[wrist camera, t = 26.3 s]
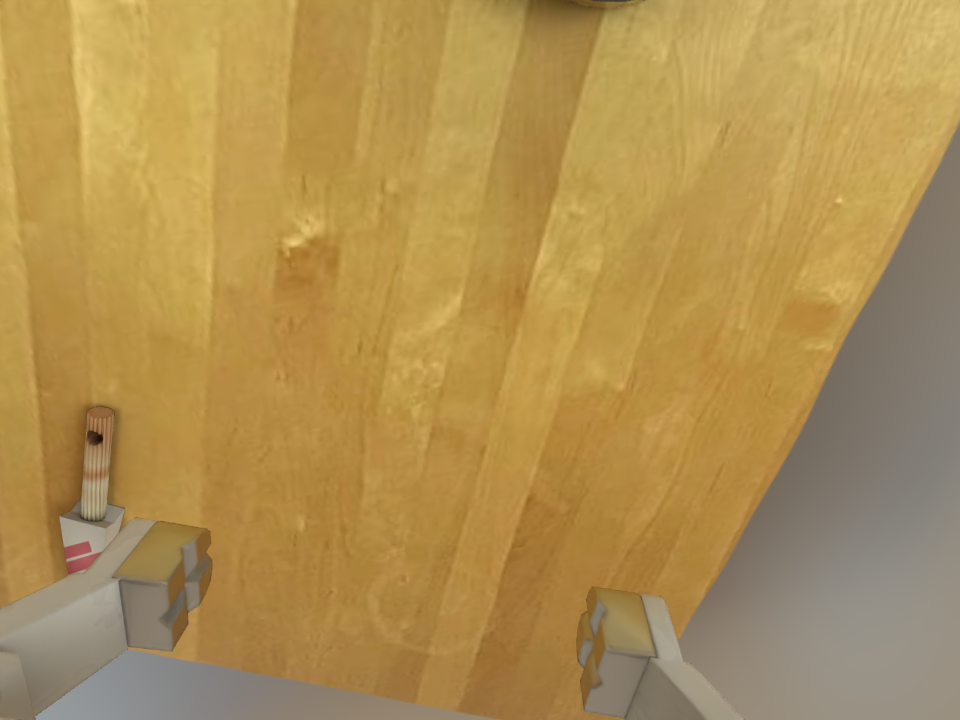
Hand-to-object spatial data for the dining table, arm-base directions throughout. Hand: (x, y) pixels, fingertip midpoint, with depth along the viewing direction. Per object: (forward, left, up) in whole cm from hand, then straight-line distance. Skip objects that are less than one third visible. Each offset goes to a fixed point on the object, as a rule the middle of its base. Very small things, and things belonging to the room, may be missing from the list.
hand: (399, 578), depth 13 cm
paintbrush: (-6, -40, -31) cm, 51 cm away
